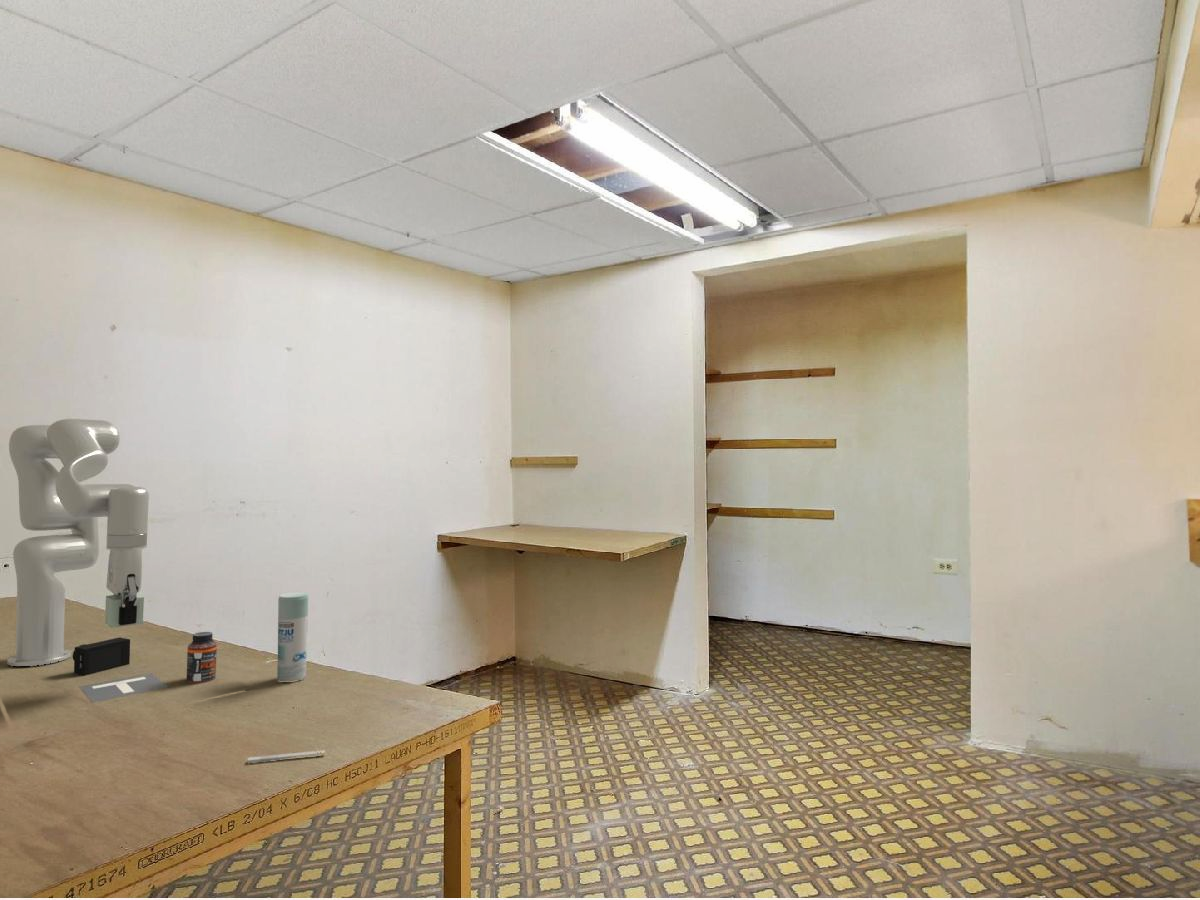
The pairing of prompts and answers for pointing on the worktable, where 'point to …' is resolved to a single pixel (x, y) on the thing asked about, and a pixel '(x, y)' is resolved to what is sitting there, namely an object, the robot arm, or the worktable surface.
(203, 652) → the supplement bottle
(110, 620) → the sage block
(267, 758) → the light grey rod
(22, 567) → the robot arm
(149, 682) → the board
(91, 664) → the digital camera
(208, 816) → the worktable surface
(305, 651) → the spray paint can
